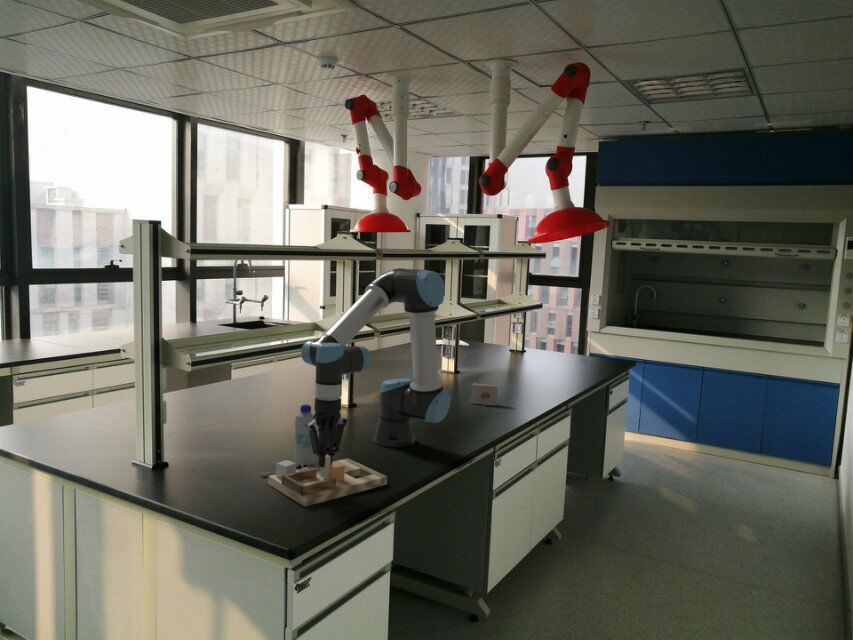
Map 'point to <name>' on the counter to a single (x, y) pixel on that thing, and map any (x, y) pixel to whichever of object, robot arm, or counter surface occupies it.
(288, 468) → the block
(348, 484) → the board
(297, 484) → the cubby
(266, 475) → the crook tool
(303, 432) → the bottle
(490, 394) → the pale printed box
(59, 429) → the counter surface
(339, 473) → the cube
